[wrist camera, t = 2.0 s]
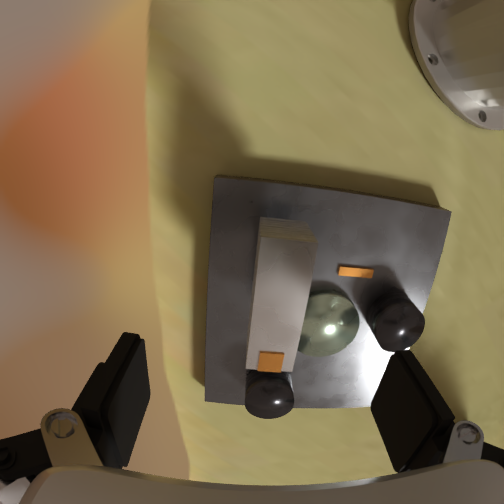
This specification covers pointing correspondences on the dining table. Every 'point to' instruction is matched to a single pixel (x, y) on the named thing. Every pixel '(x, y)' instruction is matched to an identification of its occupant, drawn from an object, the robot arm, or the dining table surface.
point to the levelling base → (320, 291)
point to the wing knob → (279, 293)
